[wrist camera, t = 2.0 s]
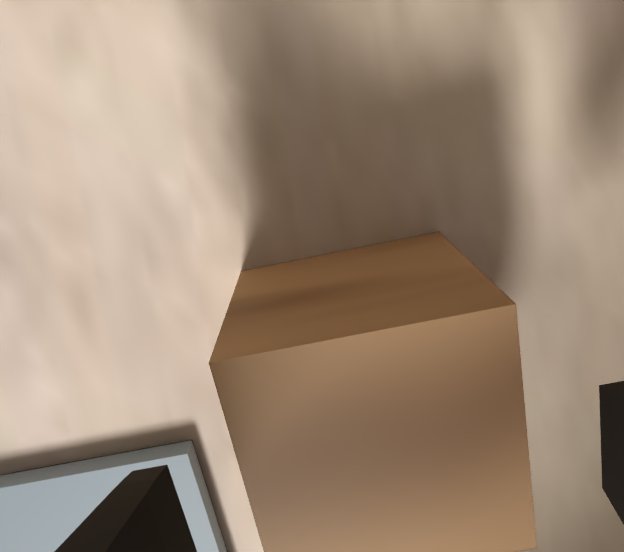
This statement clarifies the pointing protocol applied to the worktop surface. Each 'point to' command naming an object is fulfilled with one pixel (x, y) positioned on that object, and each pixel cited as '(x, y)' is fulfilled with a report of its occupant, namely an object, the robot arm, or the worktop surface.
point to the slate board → (97, 497)
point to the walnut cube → (378, 402)
